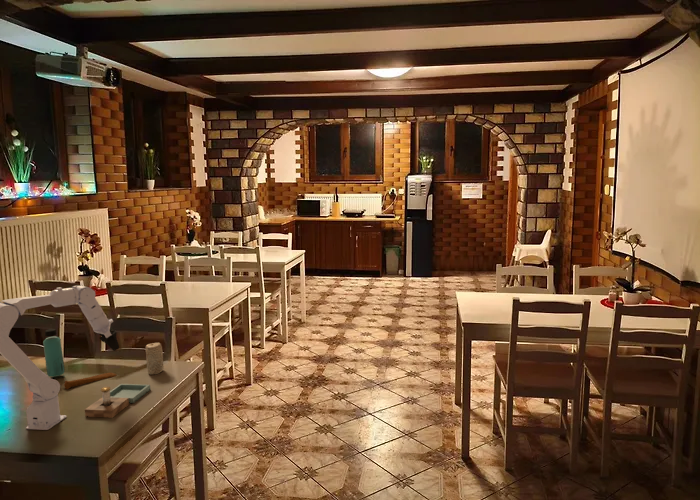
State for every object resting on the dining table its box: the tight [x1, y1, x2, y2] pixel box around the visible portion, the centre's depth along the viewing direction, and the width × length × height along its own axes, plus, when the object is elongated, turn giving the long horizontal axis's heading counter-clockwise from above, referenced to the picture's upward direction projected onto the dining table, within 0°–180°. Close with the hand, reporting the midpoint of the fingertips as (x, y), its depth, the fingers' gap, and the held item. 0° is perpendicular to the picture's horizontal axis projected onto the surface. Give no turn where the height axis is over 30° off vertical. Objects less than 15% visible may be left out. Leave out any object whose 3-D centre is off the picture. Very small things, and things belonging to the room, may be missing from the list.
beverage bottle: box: [42, 328, 66, 377], centre depth 217 cm, size 6×7×20 cm
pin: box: [100, 386, 111, 406], centre depth 185 cm, size 3×3×8 cm
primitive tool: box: [63, 372, 118, 390], centre depth 212 cm, size 19×6×4 cm, turn 141°
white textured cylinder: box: [145, 342, 164, 376], centre depth 219 cm, size 6×8×12 cm
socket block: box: [84, 396, 130, 419], centre depth 186 cm, size 10×10×2 cm
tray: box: [110, 383, 151, 404], centre depth 197 cm, size 12×12×2 cm
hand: (113, 345), depth 195 cm, fingers open, 7 cm apart
